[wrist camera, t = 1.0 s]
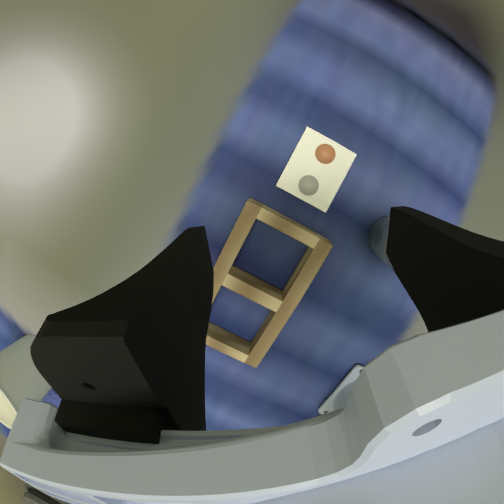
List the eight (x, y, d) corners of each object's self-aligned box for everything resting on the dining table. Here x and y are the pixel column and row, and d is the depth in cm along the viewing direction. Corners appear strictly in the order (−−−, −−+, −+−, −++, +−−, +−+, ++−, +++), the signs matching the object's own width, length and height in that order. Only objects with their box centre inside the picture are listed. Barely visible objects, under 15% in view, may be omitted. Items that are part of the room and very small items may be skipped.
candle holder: (55, 393, 37) (16, 439, 26) (14, 350, 36) (-31, 388, 25) (73, 365, 35) (25, 417, 23) (26, 316, 34) (-29, 355, 22)
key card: (356, 154, 25) (357, 154, 25) (325, 212, 27) (325, 213, 27) (306, 127, 25) (307, 126, 25) (275, 185, 27) (275, 185, 26)
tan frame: (328, 239, 28) (332, 245, 25) (257, 354, 31) (256, 368, 29) (250, 197, 27) (247, 200, 25) (189, 320, 31) (182, 332, 29)
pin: (413, 229, 27) (454, 249, 19) (392, 264, 28) (427, 295, 20) (381, 208, 26) (416, 222, 19) (360, 245, 27) (388, 272, 20)
